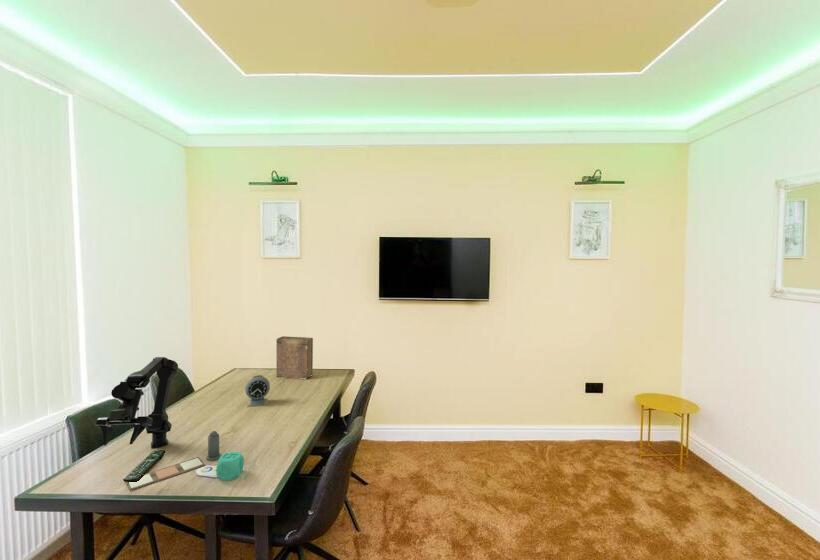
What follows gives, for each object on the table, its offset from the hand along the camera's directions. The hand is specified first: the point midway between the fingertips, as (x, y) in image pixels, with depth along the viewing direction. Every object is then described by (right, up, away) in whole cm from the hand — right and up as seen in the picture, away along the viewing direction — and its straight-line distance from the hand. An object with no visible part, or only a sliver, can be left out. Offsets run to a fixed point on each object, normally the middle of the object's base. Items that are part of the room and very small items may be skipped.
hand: (117, 444), depth 147 cm
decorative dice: (+41, -16, +7) cm, 45 cm away
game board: (+15, -15, +7) cm, 22 cm away
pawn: (+27, -15, +20) cm, 37 cm away
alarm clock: (+20, -12, +86) cm, 89 cm away
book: (+26, -10, +141) cm, 143 cm away
